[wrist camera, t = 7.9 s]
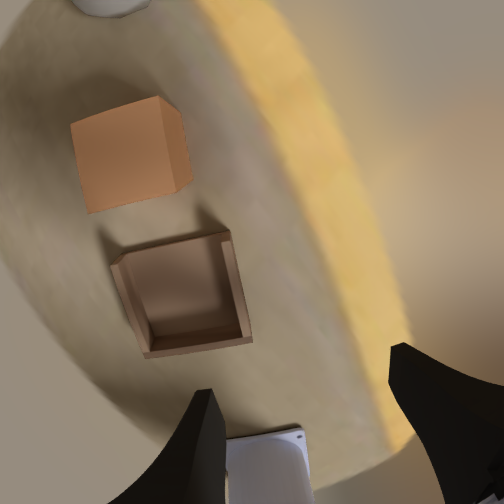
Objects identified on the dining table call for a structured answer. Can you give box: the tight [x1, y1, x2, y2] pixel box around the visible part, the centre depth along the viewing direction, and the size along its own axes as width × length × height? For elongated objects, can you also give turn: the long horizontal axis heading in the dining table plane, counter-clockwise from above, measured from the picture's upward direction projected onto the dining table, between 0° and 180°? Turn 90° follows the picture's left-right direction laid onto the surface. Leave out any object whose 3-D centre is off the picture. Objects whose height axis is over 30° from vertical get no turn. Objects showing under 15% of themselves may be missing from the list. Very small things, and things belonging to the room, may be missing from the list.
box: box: [110, 231, 253, 359], centre depth 19 cm, size 6×7×2 cm
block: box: [70, 96, 193, 214], centre depth 14 cm, size 4×4×6 cm
